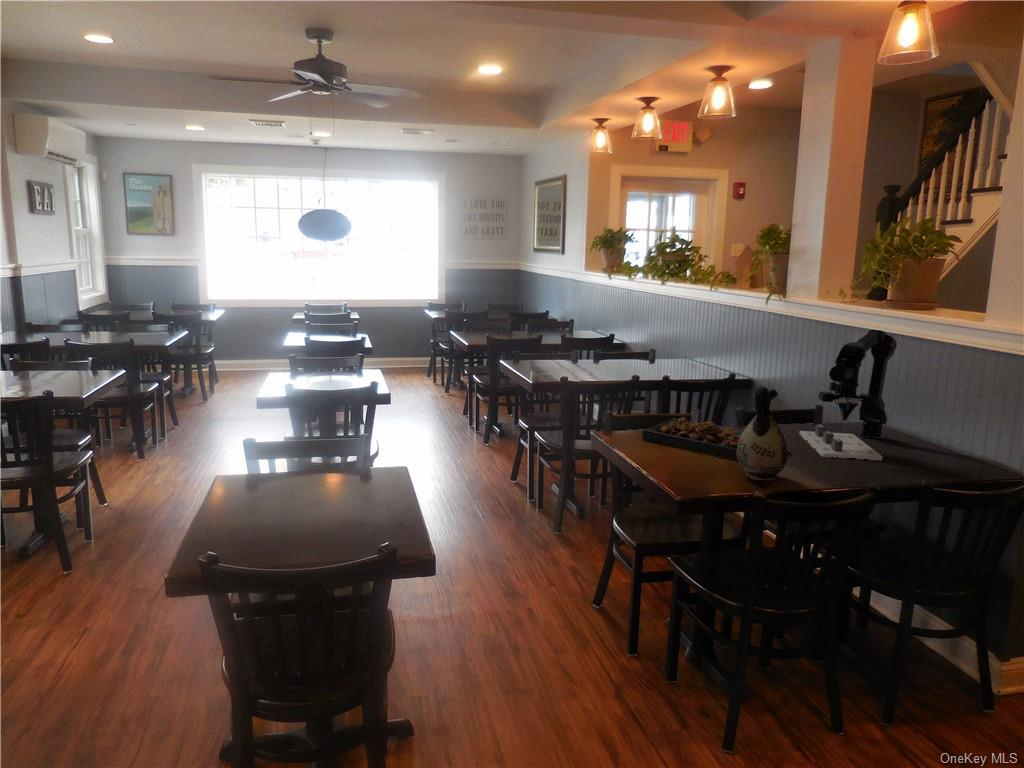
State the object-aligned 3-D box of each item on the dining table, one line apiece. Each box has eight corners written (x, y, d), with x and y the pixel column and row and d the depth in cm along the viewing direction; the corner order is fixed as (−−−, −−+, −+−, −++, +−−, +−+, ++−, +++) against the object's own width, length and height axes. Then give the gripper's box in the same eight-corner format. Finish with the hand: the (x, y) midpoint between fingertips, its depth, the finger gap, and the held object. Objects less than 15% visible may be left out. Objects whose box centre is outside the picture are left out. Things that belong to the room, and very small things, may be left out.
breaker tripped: (829, 440, 269) (830, 431, 268) (832, 443, 265) (833, 434, 264) (822, 440, 269) (823, 430, 268) (825, 443, 265) (826, 433, 264)
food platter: (784, 452, 260) (787, 424, 258) (760, 467, 241) (763, 438, 239) (671, 428, 288) (673, 404, 286) (641, 441, 269) (643, 414, 267)
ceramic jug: (745, 466, 240) (753, 378, 234) (791, 476, 231) (802, 385, 225) (724, 478, 227) (733, 386, 221) (773, 489, 218) (783, 393, 212)
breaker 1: (821, 433, 279) (822, 424, 278) (824, 436, 275) (825, 427, 274) (814, 433, 279) (815, 424, 278) (817, 435, 275) (818, 426, 274)
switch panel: (852, 437, 280) (852, 433, 280) (881, 460, 251) (882, 456, 251) (799, 434, 283) (799, 430, 282) (822, 456, 253) (823, 452, 253)
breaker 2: (838, 448, 259) (839, 438, 258) (841, 451, 255) (843, 441, 254) (830, 447, 259) (832, 438, 259) (834, 450, 255) (835, 441, 255)
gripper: (867, 376, 268) (862, 416, 271) (816, 373, 270) (811, 413, 273) (879, 382, 257) (873, 424, 261) (825, 379, 259) (820, 421, 263)
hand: (844, 420), depth 265 cm, fingers closed
